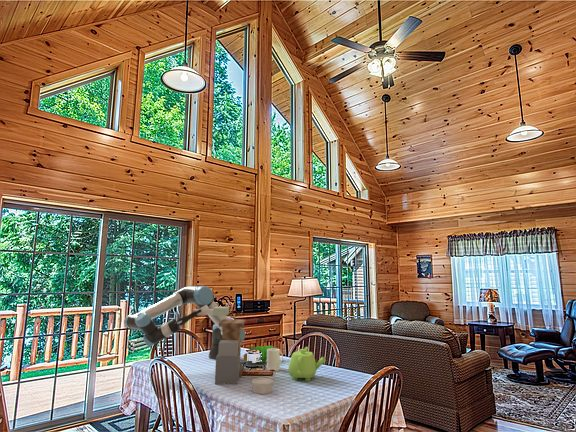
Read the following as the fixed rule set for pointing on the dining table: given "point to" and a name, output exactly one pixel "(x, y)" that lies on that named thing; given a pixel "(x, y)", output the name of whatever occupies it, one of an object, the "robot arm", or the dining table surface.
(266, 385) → the ramekin
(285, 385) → the dining table surface
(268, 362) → the mug
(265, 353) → the decorative tree
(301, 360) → the teapot
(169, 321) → the robot arm
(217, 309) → the handled block
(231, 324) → the walnut stand
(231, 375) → the stepped grey block
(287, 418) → the dining table surface
